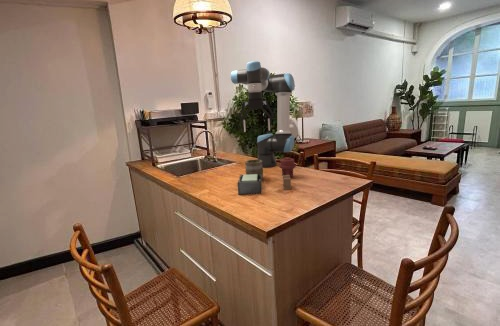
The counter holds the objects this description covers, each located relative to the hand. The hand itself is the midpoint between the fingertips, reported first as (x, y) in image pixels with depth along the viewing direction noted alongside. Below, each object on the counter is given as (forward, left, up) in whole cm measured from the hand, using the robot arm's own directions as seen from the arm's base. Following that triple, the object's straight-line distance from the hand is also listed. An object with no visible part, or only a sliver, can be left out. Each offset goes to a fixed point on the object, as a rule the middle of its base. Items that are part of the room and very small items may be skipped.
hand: (257, 131), depth 152 cm
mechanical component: (-11, +17, -31) cm, 37 cm away
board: (+10, -5, -26) cm, 28 cm away
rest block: (+9, +15, -31) cm, 35 cm away
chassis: (+10, -5, -31) cm, 33 cm away
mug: (-10, -3, -31) cm, 33 cm away
